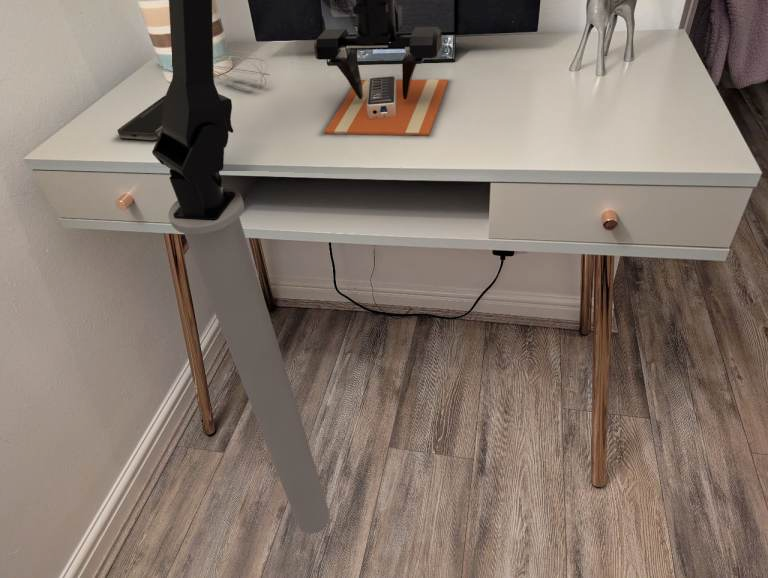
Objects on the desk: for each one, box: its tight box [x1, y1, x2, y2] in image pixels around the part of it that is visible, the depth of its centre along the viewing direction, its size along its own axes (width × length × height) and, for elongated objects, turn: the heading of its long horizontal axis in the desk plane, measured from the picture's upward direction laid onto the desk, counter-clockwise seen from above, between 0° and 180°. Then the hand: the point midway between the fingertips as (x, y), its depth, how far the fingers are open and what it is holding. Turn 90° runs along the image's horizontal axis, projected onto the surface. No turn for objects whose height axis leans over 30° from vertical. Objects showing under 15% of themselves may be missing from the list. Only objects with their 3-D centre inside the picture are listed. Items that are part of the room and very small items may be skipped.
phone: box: [117, 95, 165, 142], centre depth 97 cm, size 8×1×15 cm
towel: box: [324, 78, 449, 136], centre depth 93 cm, size 20×16×1 cm
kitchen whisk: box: [213, 51, 271, 92], centre depth 109 cm, size 6×34×6 cm, turn 50°
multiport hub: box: [367, 75, 397, 119], centre depth 92 cm, size 4×11×2 cm, turn 179°
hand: (383, 98), depth 93 cm, fingers open, 7 cm apart
